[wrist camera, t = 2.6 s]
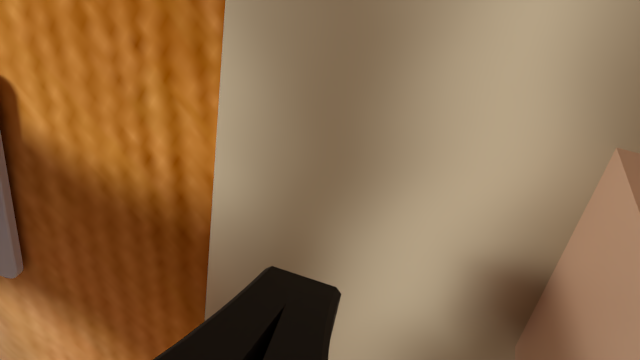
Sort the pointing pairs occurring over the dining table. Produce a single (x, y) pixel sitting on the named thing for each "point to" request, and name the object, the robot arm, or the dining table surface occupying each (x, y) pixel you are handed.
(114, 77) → the dining table surface
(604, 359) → the block
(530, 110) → the board
